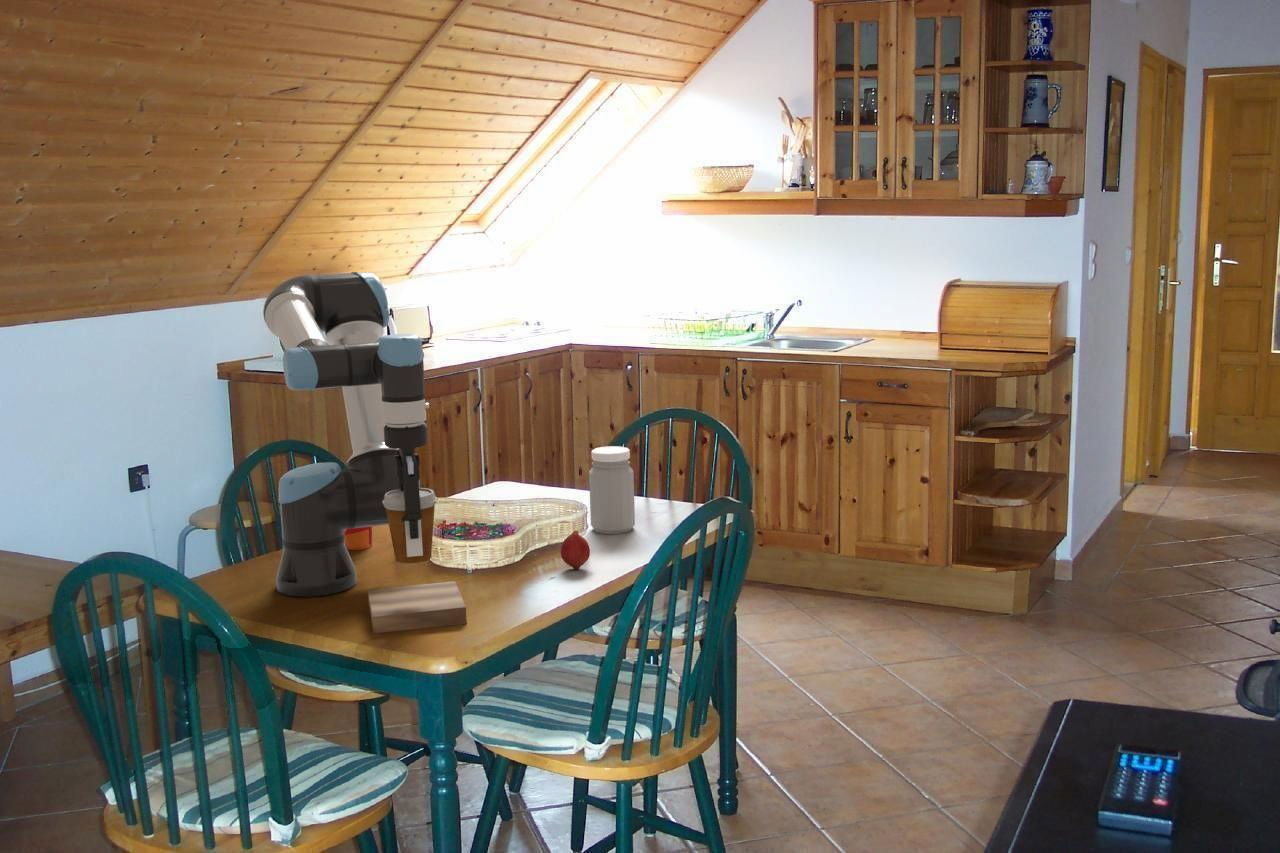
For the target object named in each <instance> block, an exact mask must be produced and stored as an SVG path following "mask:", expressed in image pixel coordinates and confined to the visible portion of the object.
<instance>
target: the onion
mask: <svg viewBox="0 0 1280 853" xmlns="http://www.w3.org/2000/svg"><path fill="white" fill-rule="evenodd" d="M560 547H561V548H560V556H561V558H562V560H563V562H564V563H566V565H568V566H570V568H573V569H574V570H578V569H580V568H581V567H582V566H583V565H584V564H585V563H587V561H588V560H589V558H590V555H591V554H590V553H591V548H590V545H589V542H588V540H587V539H586V538H584V537H583V536H582V535H580V534H579V530H578V529H575V530H573V531H572V533H570V535H568V536H567V537H565V539H564V540H563V541H562V543H561V546H560Z"/></svg>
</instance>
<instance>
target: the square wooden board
mask: <svg viewBox="0 0 1280 853" xmlns="http://www.w3.org/2000/svg"><path fill="white" fill-rule="evenodd" d="M367 598H368V608H369V609H368V610H369V614H370V620H371V626H372V632H373V634H381V633H382V634H383V633H391V632H392V633H393V632H401V631H409V630H411V631H412V630H419V629H427V628H438V627H445V626H446V627H447V626H455V625H456V626H457V625H464V624H465V625H466V624H467V622H468V621H467V606H466V604H465V602H464V599H463V597H462V594H461V592H460V590H459V588H458V585H457V582H456V581H454V580H453V581H443V582H434V583H432V582H431V583H424V584H415V585H413V584H412V585H402V586H393V587H391V586H390V587H383V588H375V589H373V588H372V589H367Z"/></svg>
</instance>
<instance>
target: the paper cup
mask: <svg viewBox="0 0 1280 853" xmlns="http://www.w3.org/2000/svg"><path fill="white" fill-rule="evenodd" d="M344 536H345V545H346V547H347V550H348V551H349V550H350V551H361V550H367V549H369V548H372V546H373V545H372V544H373V543H372V542H373V526H370V527H362V528H354V529H346V530H344Z"/></svg>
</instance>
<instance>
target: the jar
mask: <svg viewBox="0 0 1280 853" xmlns="http://www.w3.org/2000/svg"><path fill="white" fill-rule="evenodd" d="M630 452H631V450H630V449H629V448H628V447H624V446H619V445H617V446H614V445H613V446H612V445H609V446H608V445H607V446H601V447H595V448H594V449H592V450H591V460H593V461H592V462H591V465H592V467H591V468H590V470H589V471H588V477H589V478H588V479H589V480H588V481H589V482H588V483H589V509H590V511H589V512H590V526H591V527H592V529H593V530H594V531H595V532H596V533H598V532H599V533H598V534H603V535H619V534H620V535H621V534H624V533H629V532H630V531H631V530H633V528H634V527H635V525H636V517H635V515H636V513H635V510H636V509H635V480H634V479H635V478H634V475H635V474H634V469H633V468H632V467H631V466H630V465H631V461H629V459H631V453H630Z"/></svg>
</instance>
